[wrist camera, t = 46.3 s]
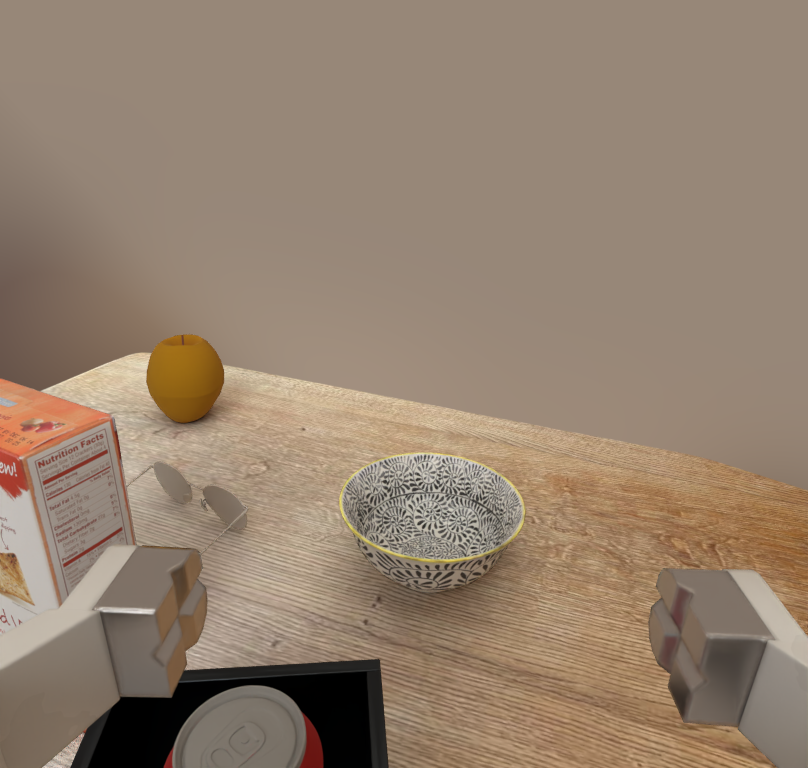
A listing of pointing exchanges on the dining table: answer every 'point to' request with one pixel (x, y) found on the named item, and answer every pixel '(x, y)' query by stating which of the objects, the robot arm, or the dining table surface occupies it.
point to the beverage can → (247, 733)
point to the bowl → (431, 518)
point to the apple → (185, 377)
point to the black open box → (304, 683)
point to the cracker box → (55, 499)
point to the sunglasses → (214, 495)
